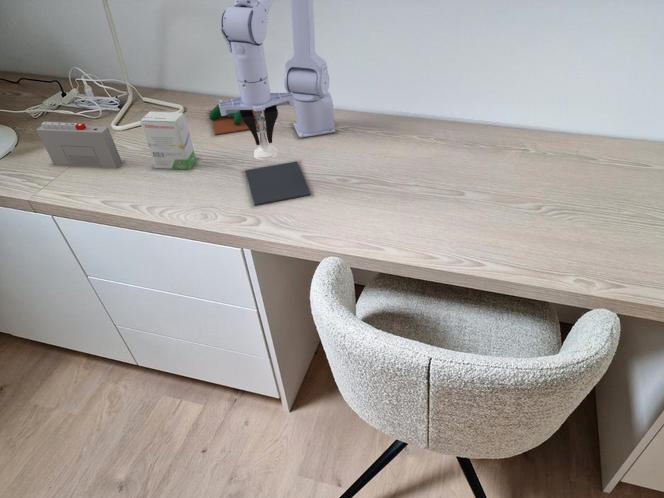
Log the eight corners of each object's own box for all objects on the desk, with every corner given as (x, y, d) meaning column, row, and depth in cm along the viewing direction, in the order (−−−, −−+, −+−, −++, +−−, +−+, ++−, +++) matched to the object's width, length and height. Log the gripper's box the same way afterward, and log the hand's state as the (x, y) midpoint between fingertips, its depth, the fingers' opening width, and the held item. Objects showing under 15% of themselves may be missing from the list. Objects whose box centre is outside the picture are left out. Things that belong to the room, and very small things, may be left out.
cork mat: (254, 105, 138) (253, 104, 137) (262, 127, 128) (261, 126, 128) (210, 112, 135) (210, 110, 135) (215, 135, 125) (214, 133, 125)
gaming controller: (244, 129, 130) (250, 107, 130) (236, 123, 127) (242, 101, 127) (215, 123, 133) (221, 101, 133) (207, 118, 129) (213, 96, 129)
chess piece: (281, 151, 105) (275, 106, 98) (269, 162, 102) (261, 116, 95) (262, 146, 107) (254, 102, 100) (249, 157, 104) (240, 112, 97)
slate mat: (297, 162, 115) (296, 161, 115) (310, 195, 105) (310, 193, 105) (245, 171, 113) (245, 170, 112) (254, 205, 103) (254, 204, 103)
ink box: (154, 168, 114) (137, 120, 106) (163, 157, 118) (147, 110, 110) (190, 170, 113) (176, 122, 105) (197, 158, 117) (184, 111, 109)
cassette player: (122, 162, 117) (106, 122, 110) (116, 168, 115) (100, 128, 108) (60, 159, 118) (41, 120, 111) (54, 164, 116) (33, 125, 109)
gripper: (215, 90, 89) (230, 157, 98) (294, 79, 92) (301, 145, 101) (212, 75, 94) (226, 140, 103) (287, 65, 97) (294, 129, 106)
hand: (263, 141), depth 103 cm, fingers closed on chess piece
